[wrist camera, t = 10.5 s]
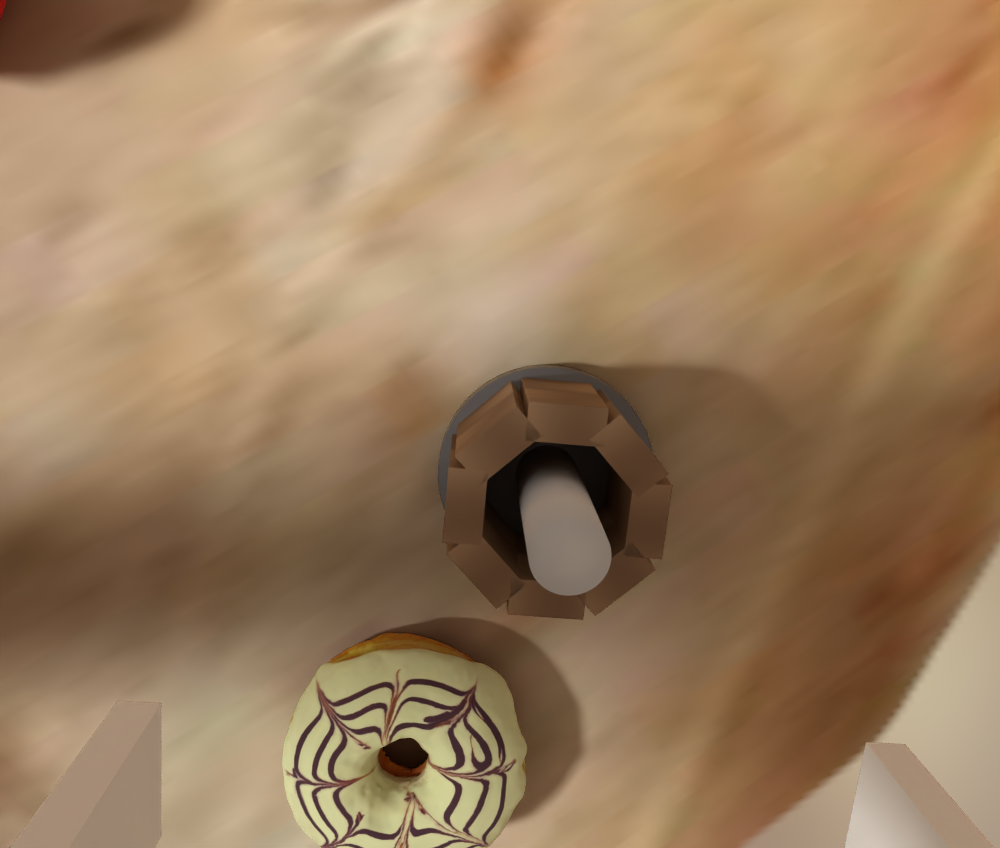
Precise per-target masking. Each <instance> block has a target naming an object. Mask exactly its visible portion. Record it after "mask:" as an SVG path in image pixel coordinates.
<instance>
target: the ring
mask: <svg viewBox="0 0 1000 848" xmlns="http://www.w3.org/2000/svg"><path fill="white" fill-rule="evenodd" d="M533 442H546V443H558V444H570V445H582V446H594V447H596V448H597V450H598V451H599V452H600V453H601V454H602V456H603V457H604V458H605V459H606V460H607V462H608V463H609V472H608V480H607V488H606V496H605V504H604V505H603V506H602V507H600V508H599V509H598V510H596V513H597V515H598V517H599V520H600V522H601V524H602V527H603V529H604V531H605V534H606V536H607V539H608V541H609V544H610V547H611V564H610V567H609V570H608V572H607V574H606V576H605V577H604V579H603V580H602V581H601V582H600V583H599V584H598V585H597V586H596V587H594V588H593V589H591V590H589V591H587V592H585V593H582V594H578V595H572V596H565V595H559V594H555V593H553V592H550V591H549V590H547V589H545V588H544V587H542V586H541V585H540V584H539V583H538V582H537V580H536V579H535V578H534V576H533V574H532V572H531V570H530V566H529V561H528V555H527V548H526V542H525V536H524V533H523V532H514V531H513V530H512V529H511V528H510V527H509V525H508V524H507V523H506V522H505V521H504V520H503V519H502V518H501V516H500V515H499V514H498V513H497V512H496V511H495V510H494V508H493V507H492V506H491V505H490V504H489V503H488V502H487V501H486V488H487V480H488V479H489V478H490V477H491V476H493V475H494V474H495V473H496V472H498V471H499V470H500V469H501V468H503V467H504V466H505V465H506V464H507V463H509V462H510V461H511V460H512V459H514V458H515V457H516V456H517V455H519V454H520V453H521V452H522V451H524V450H525V449H526V448H527V447H528V446H530V445H531V444H532V443H533ZM668 474H669V473H668V472H667V471H666V469H665V468H664V467H663V466H662V464H661V463H660V462H659V461H658V459H657V458H656V457H655V455H654V454H653V453H652V452H651V450H650V449H649V448H648V447H647V445H646V444H645V443H644V442H643V440H642V439H641V438H640V437H639V435H638V434H637V433H636V432H635V431H634V429H633V428H632V427H631V426H630V424H629V423H628V422H627V421H626V420H625V418H624V417H623V416H622V415H621V413H620V412H619V411H618V410H617V409H616V407H615V406H614V405H613V404H612V402H611V401H610V400H609V399H608V398H607V396H606V395H605V394H604V393H603V392H602V390H601V389H599V390H598V391H597V392H596V391H595V389H594V388H593V387H592V385H591V384H590V383H581V382H570V381H558V380H546V379H535V378H523V377H522V378H521V388H520V392H519V391H518V389H517V388H516V387H515V386H514V385H513V383H512V382H511V381H510V382H508V383H507V384H506V385H505V386H504V387H502V388H501V389H500V390H499V391H498V392H496V393H495V394H494V395H493V396H492V397H490V398H489V399H488V400H487V401H485V402H484V403H483V404H482V405H481V406H479V407H478V408H477V409H476V410H475V411H473V412H472V413H471V414H470V415H468V416H467V417H466V418H465V419H464V420H462V421H461V422H460V423H459V424H458V426H457V435H454V434H452V441H451V450H450V459H449V468H448V480H447V493H446V505H445V517H444V530H443V543H448V545H447V555H448V556H449V557H450V558H451V559H452V561H453V562H454V563H455V564H456V565H457V566H458V567H459V568H460V569H461V570H462V572H463V573H464V574H465V575H466V576H467V577H468V578H469V579H470V580H471V581H472V583H473V584H474V585H475V586H476V587H477V588H478V589H479V590H480V591H481V592H482V594H483V595H484V596H485V597H486V598H487V599H488V600H489V601H490V602H491V603H492V605H493V606H494V607H495V608H496V609H497V608H498V607H499V606H501V605H502V604H503V603H504V602H506V601H507V612H508V614H511V615H524V616H538V617H552V618H566V619H580V620H583V616H584V608H585V605H586V606H587V607H588V608H589V609H590V611H591V612H592V613H593V614H594V615H595V616H596V615H597V614H599V613H600V612H601V611H602V610H604V609H605V608H606V607H608V606H609V605H610V604H612V603H613V602H614V601H615V600H617V599H618V598H619V597H621V596H622V595H623V594H625V593H626V592H627V591H628V590H630V589H631V588H632V587H634V586H635V585H636V584H638V583H639V582H640V581H642V580H643V579H644V578H645V577H647V576H648V575H649V574H651V573H652V572H653V571H655V568H654V567H653V565H652V563H651V561H650V559H649V558H653V559H662V555H663V548H664V541H665V534H666V527H667V520H668V513H669V506H670V499H671V492H672V485H671V483H670V482H669V481H668V479H667V478H666V477H665V476H666V475H668Z"/></svg>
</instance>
